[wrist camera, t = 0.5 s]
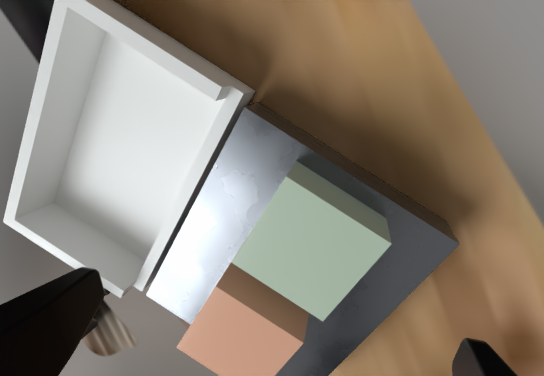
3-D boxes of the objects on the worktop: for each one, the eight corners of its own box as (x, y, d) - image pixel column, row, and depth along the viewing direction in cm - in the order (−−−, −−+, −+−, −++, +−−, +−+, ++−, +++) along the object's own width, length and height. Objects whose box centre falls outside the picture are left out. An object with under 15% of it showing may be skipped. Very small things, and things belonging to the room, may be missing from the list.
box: (159, 273, 28) (129, 304, 24) (48, 201, 28) (3, 222, 24) (255, 90, 21) (234, 95, 17) (109, -2, 21) (58, -17, 18)
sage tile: (326, 288, 21) (322, 321, 18) (246, 237, 21) (231, 262, 19) (386, 218, 19) (391, 244, 16) (295, 160, 19) (285, 176, 16)
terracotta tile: (265, 361, 24) (254, 398, 22) (196, 316, 24) (176, 347, 22) (310, 308, 22) (303, 343, 19) (232, 259, 22) (215, 286, 19)
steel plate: (310, 365, 27) (305, 398, 25) (166, 272, 28) (145, 295, 25) (446, 221, 21) (459, 244, 18) (258, 102, 21) (244, 107, 19)
